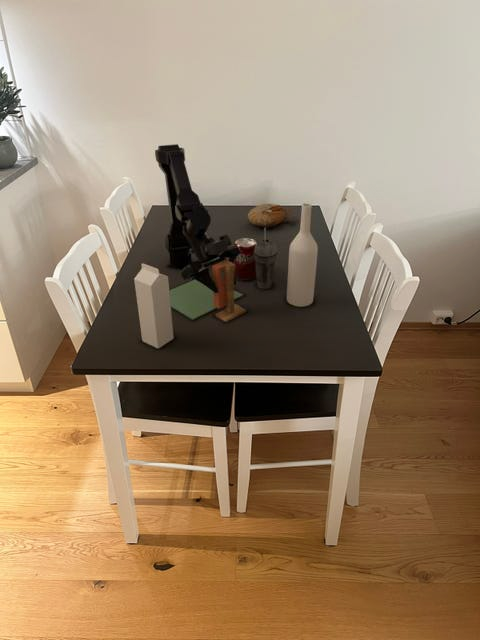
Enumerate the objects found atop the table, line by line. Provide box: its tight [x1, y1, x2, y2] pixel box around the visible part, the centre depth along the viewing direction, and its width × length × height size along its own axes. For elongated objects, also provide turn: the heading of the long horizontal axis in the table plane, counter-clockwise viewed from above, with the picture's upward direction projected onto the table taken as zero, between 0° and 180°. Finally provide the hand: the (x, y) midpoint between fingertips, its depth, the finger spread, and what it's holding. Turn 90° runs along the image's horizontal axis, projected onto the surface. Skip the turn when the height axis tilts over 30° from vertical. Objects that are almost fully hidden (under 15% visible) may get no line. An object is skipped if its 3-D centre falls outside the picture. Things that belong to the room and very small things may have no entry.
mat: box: [169, 278, 244, 321], centre depth 153 cm, size 18×20×1 cm
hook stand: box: [215, 262, 247, 323], centre depth 141 cm, size 7×8×16 cm
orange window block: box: [211, 260, 232, 310], centre depth 142 cm, size 2×5×13 cm, turn 134°
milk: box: [134, 262, 174, 349], centre depth 128 cm, size 6×6×22 cm
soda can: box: [233, 237, 258, 281], centre depth 161 cm, size 7×7×12 cm
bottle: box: [286, 202, 319, 308], centre depth 143 cm, size 8×8×30 cm
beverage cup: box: [254, 227, 278, 290], centre depth 154 cm, size 7×7×20 cm
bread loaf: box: [247, 203, 300, 229], centre depth 200 cm, size 8×22×15 cm
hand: (226, 288), depth 142 cm, fingers open, 7 cm apart
